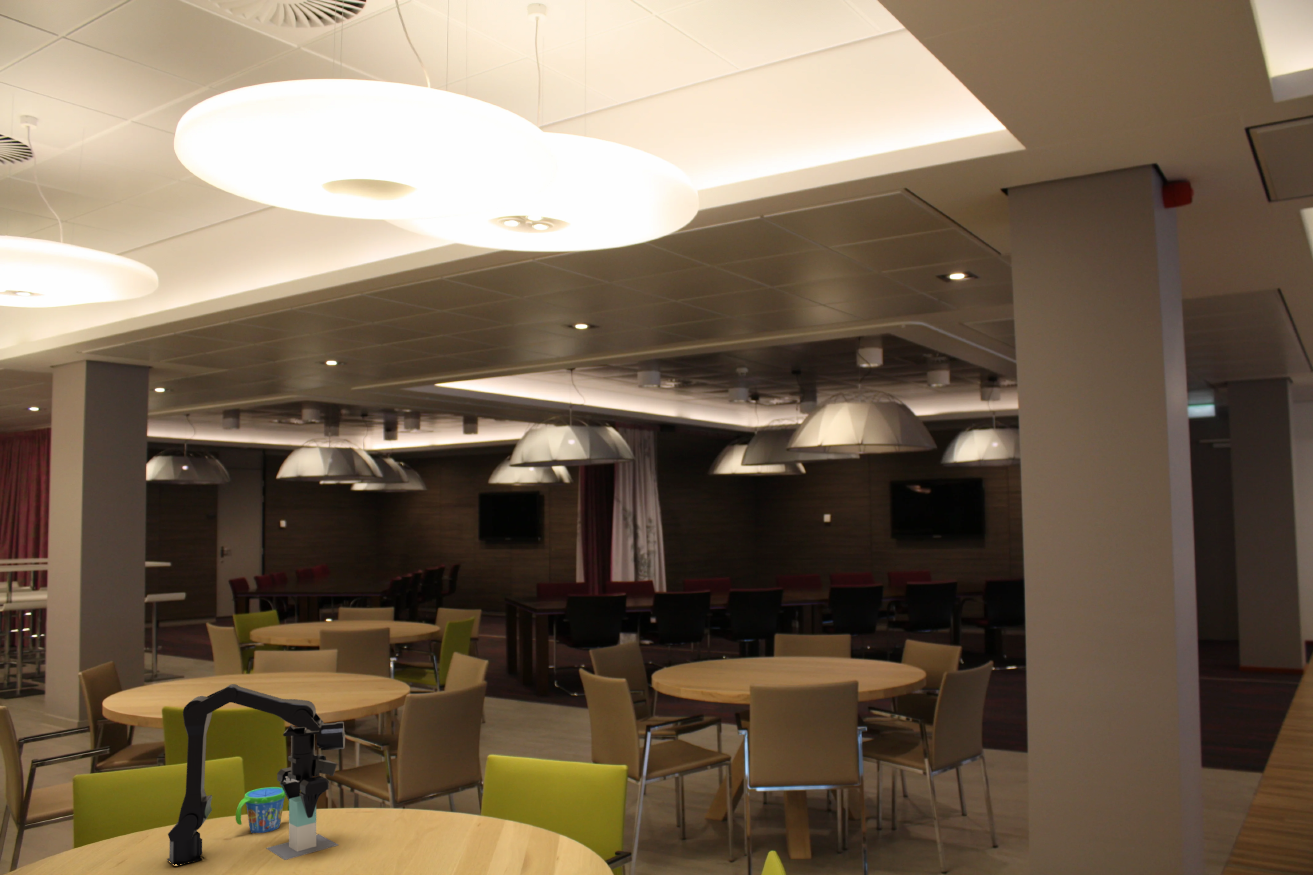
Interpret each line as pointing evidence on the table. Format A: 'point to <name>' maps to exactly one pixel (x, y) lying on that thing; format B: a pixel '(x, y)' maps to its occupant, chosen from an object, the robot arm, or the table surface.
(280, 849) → the mat
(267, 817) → the snack cup
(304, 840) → the white block
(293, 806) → the teal block
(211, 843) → the table surface
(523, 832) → the table surface
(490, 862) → the table surface
